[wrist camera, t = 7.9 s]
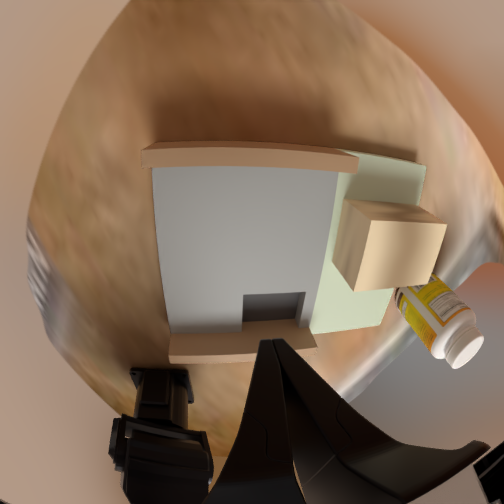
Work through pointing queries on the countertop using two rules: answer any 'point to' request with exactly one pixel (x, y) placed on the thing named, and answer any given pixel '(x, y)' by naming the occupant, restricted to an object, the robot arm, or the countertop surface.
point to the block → (386, 244)
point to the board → (262, 242)
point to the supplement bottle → (440, 321)
